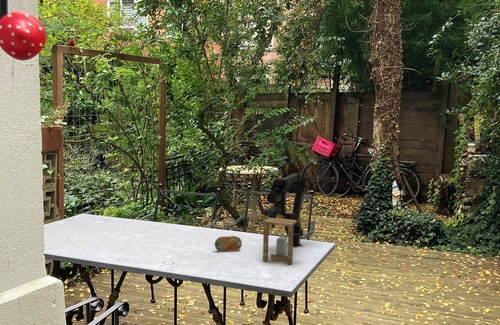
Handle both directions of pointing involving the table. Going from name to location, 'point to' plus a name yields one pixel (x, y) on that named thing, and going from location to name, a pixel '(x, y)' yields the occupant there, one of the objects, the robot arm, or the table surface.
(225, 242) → the tin
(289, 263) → the wooden frame
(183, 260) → the table surface
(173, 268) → the table surface
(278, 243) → the slab
